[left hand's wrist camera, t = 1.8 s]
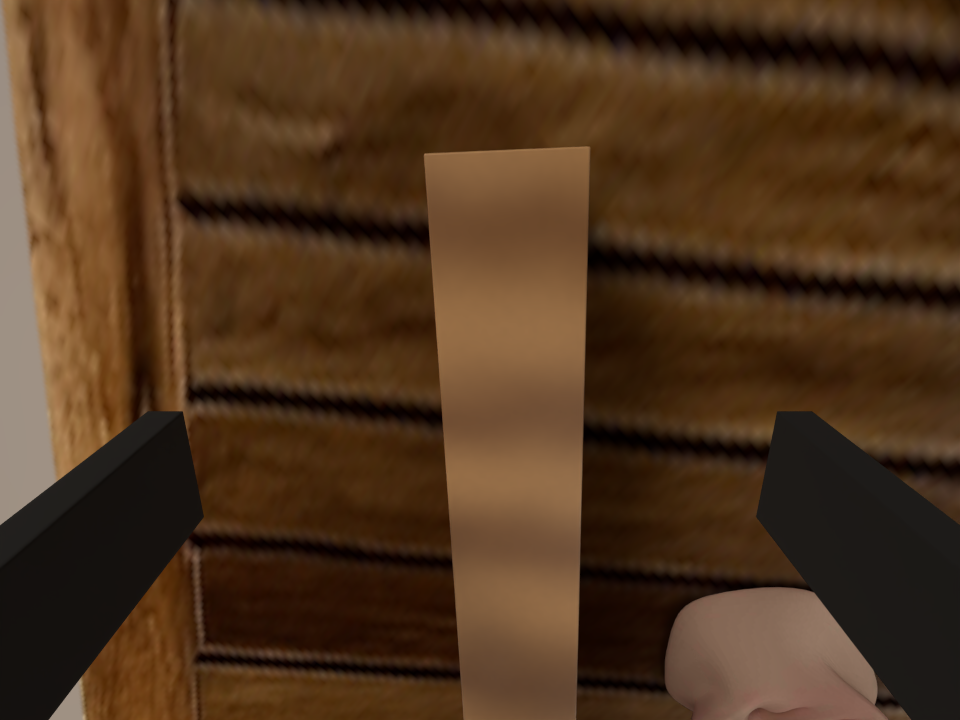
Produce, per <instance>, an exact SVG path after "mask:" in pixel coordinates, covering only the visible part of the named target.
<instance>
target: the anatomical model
mask: <svg viewBox="0 0 960 720" xmlns="http://www.w3.org/2000/svg"><path fill="white" fill-rule="evenodd" d="M665 684H666V688H667V690H668V692H669V694H670V695H671V696H672V697H673V698H674V699H675V700H676V701H677V702H679V703H680V704H682V705H683V706H685V707H686V708H688V709H689V710H691V711H693V715H692V718H691V720H889V719H888V718H887V717H886V716H885V715H884V714H883V713H882V712H881V711H880V710H879V709H878V708H877V707H876V706H875V702H876V698H877V681H876V677H875V674H874V671H873V669H872V668H871V666H870V665H869V664H868V662H867V661H866V660H865V658H864V657H863V656H862V654H861V653H860V652H859V651H858V649H857V648H856V647H855V645H854V644H853V643H852V641H851V640H850V639H849V637H848V636H847V635H846V634H845V632H844V631H843V630H842V628H841V627H840V626H839V624H838V623H837V622H836V621H835V619H834V618H833V617H832V615H831V614H830V613H829V611H828V610H827V609H826V607H825V606H824V605H823V604H822V602H821V601H820V600H819V598H818V597H817V596H816V594H815V593H814V592H811V591H807V590H803V589H796V588H784V587H765V588H753V589H743V590H736V591H729V592H723V593H718V594H714V595H709V596H705V597H702V598H700V599H697V600H695V601H693V602H691V603H689V604H688V605H686V606H685V607H684V608H683V609H682V610H681V611H680V613H679V614H678V615H677V617H676V619H675V621H674V624H673V627H672V630H671V633H670V638H669V642H668V647H667V651H666V656H665Z"/></svg>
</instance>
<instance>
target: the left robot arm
mask: <svg viewBox="0 0 960 720" xmlns="http://www.w3.org/2000/svg"><path fill="white" fill-rule="evenodd" d="M203 517H204V515H203V510H202V505H201V500H200V495H199V490H198V485H197V480H196V475H195V470H194V465H193V460H192V455H191V450H190V445H189V440H188V435H187V430H186V425H185V420H184V415H183V411H148V412H147V413H145V414H144V415H143V416H142V417H140V418H139V419H138V420H136V421H135V422H134V423H132V424H131V425H130V426H129V427H127V428H126V429H125V430H123V431H122V432H121V433H119V434H118V435H117V436H116V437H114V438H113V439H112V440H110V441H109V442H108V443H106V444H105V445H104V446H103V447H101V448H100V449H99V450H97V451H96V452H95V453H93V454H92V455H91V456H90V457H88V458H87V459H86V460H84V461H83V462H82V463H80V464H79V465H78V466H77V467H75V468H74V469H73V470H71V471H70V472H69V473H67V474H66V475H65V476H64V477H62V478H61V479H60V480H58V481H57V482H56V483H54V484H53V485H52V486H51V487H49V488H48V489H47V490H45V491H44V492H43V493H41V494H40V495H39V496H38V497H36V498H35V499H34V500H32V501H31V502H30V503H28V504H27V505H26V506H25V507H23V508H22V509H21V510H19V511H18V512H17V513H15V514H14V515H13V516H12V517H10V518H9V519H8V520H7V521H5V522H4V523H3V524H1V525H0V720H49V719H50V717H51V716H52V715H53V713H54V712H55V711H56V709H57V708H58V707H59V705H60V704H61V703H62V702H63V700H64V699H65V698H66V696H67V695H68V694H69V692H70V691H71V690H72V688H73V687H74V686H75V685H76V683H77V682H78V681H79V679H80V678H81V677H82V675H83V674H84V673H85V671H86V670H87V669H88V668H89V666H90V665H91V664H92V662H93V661H94V660H95V658H96V657H97V656H98V654H99V653H100V652H101V651H102V649H103V648H104V647H105V645H106V644H107V643H108V641H109V640H110V639H111V637H112V636H113V635H114V634H115V632H116V631H117V630H118V628H119V627H120V626H121V624H122V623H123V622H124V621H125V619H126V618H127V617H128V615H129V614H130V613H131V611H132V610H133V609H134V607H135V606H136V605H137V604H138V602H139V601H140V600H141V598H142V597H143V596H144V594H145V593H146V592H147V590H148V589H149V588H150V587H151V585H152V584H153V583H154V581H155V580H156V579H157V577H158V576H159V575H160V573H161V572H162V571H163V570H164V568H165V567H166V566H167V564H168V563H169V562H170V560H171V559H172V558H173V556H174V555H175V554H176V553H177V551H178V550H179V549H180V547H181V546H182V545H183V543H184V542H185V541H186V539H187V538H188V537H189V536H190V534H191V533H192V532H193V530H194V529H195V528H196V526H197V525H198V524H199V522H200V521H201V520H202V519H203ZM756 517H757V519H758V520H759V521H760V522H761V524H762V525H763V526H764V528H765V529H766V530H767V532H768V533H769V534H770V536H771V537H772V538H773V539H774V541H775V542H776V543H777V545H778V546H779V547H780V549H781V550H782V551H783V553H784V554H785V555H786V556H787V558H788V559H789V560H790V562H791V563H792V564H793V566H794V567H795V568H796V570H797V571H798V572H799V573H800V575H801V576H802V577H803V579H804V580H805V581H806V583H807V584H808V585H809V587H810V588H811V589H812V590H813V592H814V593H815V594H816V596H817V597H818V598H819V600H820V601H821V602H822V604H823V605H824V606H825V607H826V609H827V610H828V611H829V613H830V614H831V615H832V617H833V618H834V619H835V621H836V622H837V623H838V624H839V626H840V627H841V628H842V630H843V631H844V632H845V634H846V635H847V636H848V637H849V639H850V640H851V641H852V643H853V644H854V645H855V647H856V648H857V649H858V651H859V652H860V653H861V654H862V656H863V657H864V658H865V660H866V661H867V662H868V664H869V665H870V666H871V668H872V669H873V670H874V671H875V673H876V674H877V675H878V677H879V678H880V679H881V681H882V682H883V683H884V685H885V686H886V687H887V688H888V690H889V691H890V692H891V694H892V695H893V696H894V698H895V699H896V700H897V702H898V703H899V704H900V705H901V707H902V708H903V709H904V711H905V712H906V713H907V715H908V716H909V717H910V719H911V720H960V525H959V524H957V523H956V522H955V521H954V520H952V519H951V518H950V517H948V516H947V515H946V514H944V513H943V512H942V511H941V510H939V509H938V508H937V507H935V506H934V505H933V504H932V503H930V502H929V501H928V500H926V499H925V498H924V497H922V496H921V495H920V494H919V493H917V492H916V491H915V490H913V489H912V488H911V487H909V486H908V485H907V484H906V483H904V482H903V481H902V480H900V479H899V478H898V477H896V476H895V475H894V474H893V473H891V472H890V471H889V470H887V469H886V468H885V467H883V466H882V465H881V464H880V463H878V462H877V461H876V460H874V459H873V458H872V457H870V456H869V455H868V454H867V453H865V452H864V451H863V450H861V449H860V448H859V447H857V446H856V445H855V444H854V443H852V442H851V441H850V440H848V439H847V438H846V437H844V436H843V435H842V434H841V433H839V432H838V431H837V430H835V429H834V428H833V427H831V426H830V425H829V424H828V423H826V422H825V421H824V420H822V419H821V418H820V417H818V416H817V415H816V414H815V413H813V412H812V411H777V415H776V420H775V425H774V430H773V435H772V440H771V445H770V450H769V455H768V460H767V465H766V470H765V475H764V480H763V485H762V490H761V495H760V500H759V505H758V510H757V515H756Z"/></svg>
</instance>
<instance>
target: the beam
mask: <svg viewBox="0 0 960 720" xmlns="http://www.w3.org/2000/svg"><path fill="white" fill-rule="evenodd" d="M424 165H425V179H426V193H427V207H428V221H429V235H430V250H431V264H432V278H433V292H434V306H435V320H436V335H437V349H438V363H439V377H440V391H441V405H442V419H443V434H444V448H445V462H446V476H447V490H448V504H449V519H450V533H451V547H452V561H453V575H454V589H455V603H456V618H457V632H458V646H459V660H460V674H461V688H462V703H463V717H464V720H576V706H577V666H578V626H579V586H580V546H581V506H582V466H583V426H584V386H585V346H586V306H587V266H588V226H589V186H590V147H589V146H584V147H561V148H539V149H516V150H493V151H470V152H447V153H426V154H424Z"/></svg>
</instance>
